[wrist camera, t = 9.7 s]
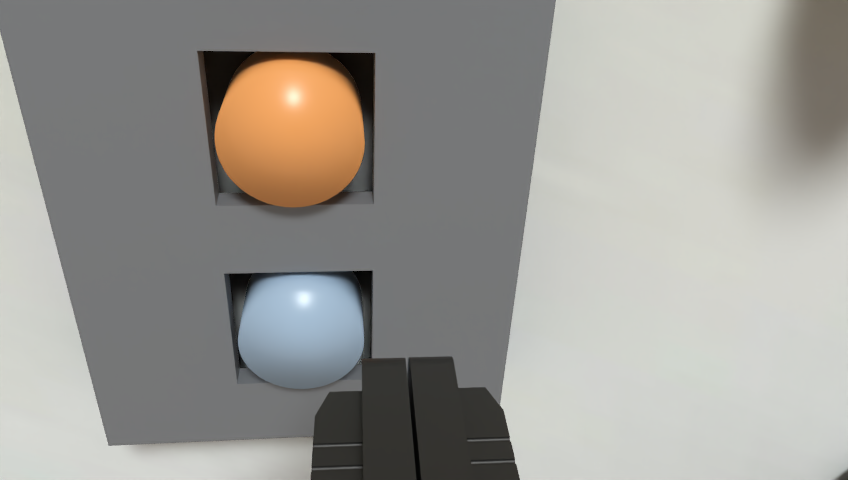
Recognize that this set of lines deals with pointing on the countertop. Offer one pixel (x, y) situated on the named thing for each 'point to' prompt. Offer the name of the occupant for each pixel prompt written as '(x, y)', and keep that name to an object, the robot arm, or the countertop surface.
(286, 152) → the orange button
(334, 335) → the blue button
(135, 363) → the button box
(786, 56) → the countertop surface
